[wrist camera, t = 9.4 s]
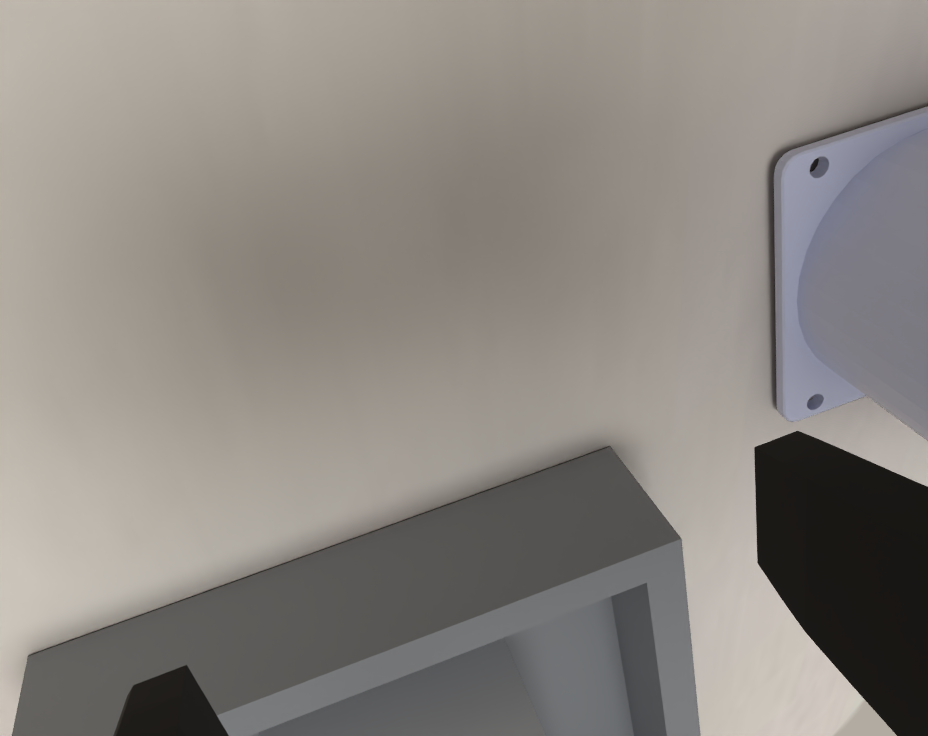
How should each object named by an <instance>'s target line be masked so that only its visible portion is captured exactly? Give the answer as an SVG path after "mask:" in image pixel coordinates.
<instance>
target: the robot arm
mask: <svg viewBox="0 0 928 736" xmlns="http://www.w3.org/2000/svg"><path fill="white" fill-rule="evenodd" d="M817 158H819V162H818V166H817V167H816V168H815V170H814V171H812V172H811V173H810V167H811V164H812V163H813V161H814V160H815V159H817ZM774 229H775V310H776V391H777V410H778V412H779V413H780V414H781V415H782V416H783V417H784V418H785V419H786V420H787V421H791V422H794V421H799V420H802V419H805V418H807V417H810V416H813V415H815V414H818V413H821V412H824V411H826V410H829V409H832V408H834V407H837V406H840V405H843V404H845V403H848V402H851V401H854V400H856V399H859V398H862V397H864V396H867V397H869V398H870V399H871V400H873V401H874V402H876V403H877V404H878V405H880V406H881V407H882V408H884V409H885V410H886V411H888V412H889V413H890V414H892V415H893V416H895V417H896V418H897V419H899V420H900V421H901V422H903V423H904V424H905V425H907V426H908V427H909V428H911V429H912V430H914V431H915V432H916V433H918V434H919V435H920V436H922V437H923V438H924V439H926V440H927V441H928V106H927V107H924V108H921V109H918V110H914V111H911V112H908V113H905V114H902V115H899V116H896V117H893V118H889V119H886V120H883V121H880V122H877V123H874V124H871V125H867V126H864V127H861V128H858V129H855V130H852V131H849V132H846V133H842V134H839V135H836V136H833V137H830V138H827V139H824V140H821V141H817V142H814V143H811V144H808V145H805V146H802V147H799V148H796V149H792V150H790V151H789V152H787V153H785V154H784V155H783V156H782V157H781V158H780V159H779V161H778V163H777V165H776V167H775V171H774ZM813 395H814V396H813ZM812 396H813V398H812V399H811V400H810V401H808V400H809V399H810V398H811V397H812ZM755 483H756V520H757V556H758V564H759V566H760V567H761V569H762V570H763V572H764V573H765V575H766V576H767V578H768V579H769V581H770V582H771V584H772V585H773V587H774V588H775V589H776V591H777V592H778V594H779V595H780V597H781V598H782V600H783V601H784V603H785V604H786V606H787V607H788V608H789V610H790V611H791V613H792V614H793V615H794V617H795V618H796V620H797V621H798V622H799V624H800V625H801V627H802V628H803V629H804V631H805V632H806V633H807V634H808V635H809V637H810V638H811V639H812V640H813V641H814V642H815V644H816V645H817V646H818V647H819V648H820V649H821V650H822V652H823V653H824V654H825V655H826V656H827V657H828V658H829V660H830V661H831V662H832V663H833V664H834V665H835V666H836V668H837V669H838V670H839V671H840V672H841V673H842V674H843V675H844V677H845V678H846V679H847V680H848V681H849V682H850V683H851V685H852V686H853V687H854V688H855V689H856V690H857V691H858V692H859V694H860V695H861V696H862V697H863V698H864V699H865V700H866V701H867V702H868V704H869V705H870V706H871V707H872V708H873V709H874V710H875V711H876V712H877V714H878V715H879V716H880V717H881V718H882V719H883V720H884V721H885V722H886V724H887V725H888V726H889V727H890V728H891V729H892V730H893V732H895V734H896V735H897V736H928V487H927V486H924V485H922V484H920V483H917V482H915V481H913V480H910V479H908V478H906V477H904V476H901V475H899V474H897V473H894V472H892V471H890V470H888V469H885V468H883V467H881V466H878V465H876V464H874V463H872V462H869V461H867V460H865V459H863V458H860V457H858V456H856V455H853V454H851V453H849V452H847V451H844V450H842V449H840V448H837V447H835V446H833V445H831V444H828V443H826V442H823V441H821V440H819V439H816V438H814V437H812V436H809V435H807V434H804V433H802V432H799V431H796V432H793V433H791V434H788V435H785V436H783V437H780V438H778V439H775V440H772V441H770V442H767V443H765V444H762V445H759V446H757V447H755ZM113 736H229V735H228V734H227V732H226V730H225V728H224V727H223V725H222V723H221V722H220V720H219V718H218V717H217V715H216V713H215V712H214V710H213V708H212V707H211V705H210V703H209V701H208V700H207V698H206V696H205V695H204V693H203V691H202V690H201V688H200V686H199V685H198V683H197V681H196V680H195V678H194V676H193V674H192V673H191V671H190V669H189V668H188V666H187V665H185V666H182V667H179V668H177V669H174V670H172V671H169V672H166V673H164V674H161V675H159V676H156V677H153V678H151V679H148V680H146V681H143V682H140V683H138V684H135V685H133V687H132V688H131V690H130V692H129V694H128V695H127V698H126V701H125V704H124V707H123V710H122V712H121V715H120V718H119V721H118V724H117V727H116V730H115V732H114V735H113Z"/></svg>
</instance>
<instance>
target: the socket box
mask: <svg viewBox="0 0 928 736" xmlns="http://www.w3.org/2000/svg"><path fill="white" fill-rule="evenodd" d="M185 665H187V666H188V668H189V669H190V671H191V673H192V674H193V676H194V678H195V680H196V681H197V683H198V685H199V686H200V688H201V690H202V691H203V693H204V695H205V696H206V698H207V700H208V701H209V703H210V705H211V707H212V708H213V710H214V712H215V713H216V715H217V717H218V718H219V720H220V722H221V723H222V725H223V727H224V728H225V730H226V732H227V734H228V735H229V736H700V727H699V717H698V706H697V696H696V685H695V675H694V665H693V654H692V644H691V634H690V623H689V613H688V602H687V592H686V582H685V571H684V561H683V551H682V540H681V538H680V536H679V535H678V534H677V532H676V531H675V530H674V529H673V527H672V526H671V525H670V523H669V522H668V521H667V519H666V518H665V517H664V516H663V514H662V513H661V512H660V510H659V509H658V508H657V506H656V505H655V504H654V503H653V501H652V500H651V499H650V497H649V496H648V495H647V493H646V492H645V491H644V490H643V488H642V487H641V486H640V484H639V483H638V482H637V480H636V479H635V478H634V477H633V475H632V474H631V473H630V471H629V470H628V469H627V468H626V466H625V465H624V464H623V462H622V461H621V460H620V458H619V457H618V456H617V455H616V453H615V452H614V451H613V449H612V448H611V447H608V448H605V449H602V450H599V451H597V452H594V453H591V454H588V455H585V456H583V457H580V458H577V459H574V460H572V461H569V462H566V463H563V464H560V465H558V466H555V467H552V468H549V469H547V470H544V471H541V472H538V473H535V474H533V475H530V476H527V477H524V478H522V479H519V480H516V481H513V482H510V483H508V484H505V485H502V486H499V487H497V488H494V489H491V490H488V491H485V492H483V493H480V494H477V495H474V496H472V497H469V498H466V499H463V500H460V501H458V502H455V503H452V504H449V505H447V506H444V507H441V508H438V509H435V510H433V511H430V512H427V513H424V514H422V515H419V516H416V517H413V518H410V519H408V520H405V521H402V522H399V523H397V524H394V525H391V526H388V527H385V528H383V529H380V530H377V531H374V532H372V533H369V534H366V535H363V536H360V537H358V538H355V539H352V540H349V541H347V542H344V543H341V544H338V545H335V546H333V547H330V548H327V549H324V550H322V551H319V552H316V553H313V554H310V555H308V556H305V557H302V558H299V559H297V560H294V561H291V562H288V563H285V564H283V565H280V566H277V567H274V568H272V569H269V570H266V571H263V572H260V573H258V574H255V575H252V576H249V577H247V578H244V579H241V580H238V581H236V582H233V583H230V584H227V585H224V586H222V587H219V588H216V589H213V590H211V591H208V592H205V593H202V594H199V595H197V596H194V597H191V598H188V599H186V600H183V601H180V602H177V603H174V604H172V605H169V606H166V607H163V608H161V609H158V610H155V611H152V612H149V613H147V614H144V615H141V616H138V617H136V618H133V619H130V620H127V621H124V622H122V623H119V624H116V625H113V626H111V627H108V628H105V629H102V630H99V631H97V632H94V633H91V634H88V635H86V636H83V637H80V638H77V639H74V640H72V641H69V642H66V643H63V644H61V645H58V646H55V647H52V648H49V649H47V650H44V651H41V652H38V653H36V654H33V655H30V656H28V659H27V664H26V669H25V674H24V679H23V684H22V689H21V693H20V698H19V703H18V708H17V713H16V718H15V723H14V728H13V733H12V736H113V735H114V732H115V730H116V727H117V724H118V721H119V718H120V715H121V712H122V710H123V707H124V704H125V701H126V698H127V695H128V694H129V692H130V690H131V688H132V687H133V685H135V684H138V683H140V682H143V681H146V680H148V679H151V678H153V677H156V676H159V675H161V674H164V673H166V672H169V671H172V670H174V669H177V668H179V667H182V666H185Z"/></svg>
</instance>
